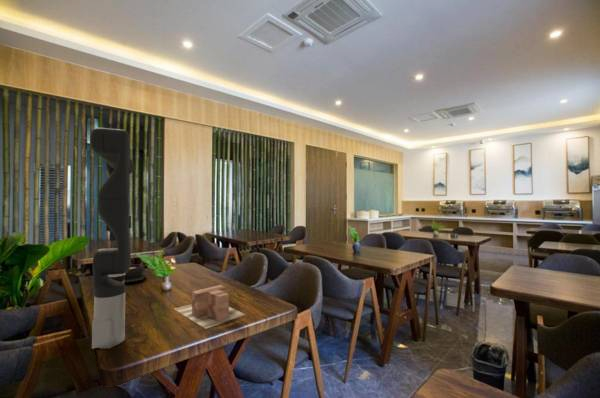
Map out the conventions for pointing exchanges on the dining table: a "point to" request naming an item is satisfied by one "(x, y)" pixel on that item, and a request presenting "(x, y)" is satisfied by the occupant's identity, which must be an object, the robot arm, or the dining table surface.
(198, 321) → the board
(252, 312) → the dining table surface
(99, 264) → the robot arm
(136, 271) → the casserole
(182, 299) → the dining table surface
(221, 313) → the T block
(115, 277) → the coffee mug
